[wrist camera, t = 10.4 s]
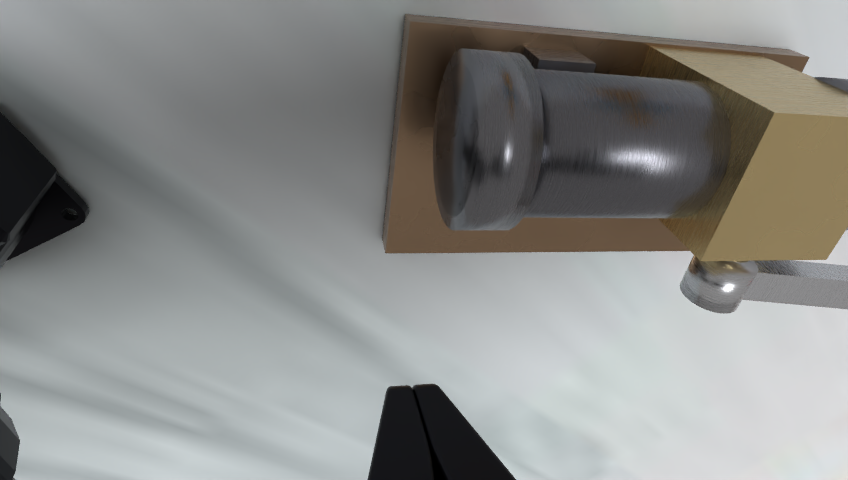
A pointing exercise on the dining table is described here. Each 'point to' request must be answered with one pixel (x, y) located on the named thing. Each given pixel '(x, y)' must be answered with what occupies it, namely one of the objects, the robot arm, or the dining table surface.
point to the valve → (611, 145)
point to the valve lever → (764, 283)
